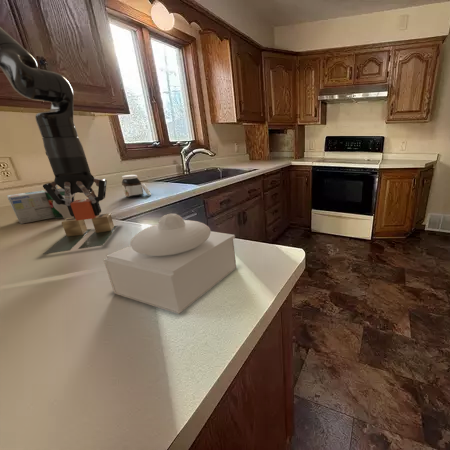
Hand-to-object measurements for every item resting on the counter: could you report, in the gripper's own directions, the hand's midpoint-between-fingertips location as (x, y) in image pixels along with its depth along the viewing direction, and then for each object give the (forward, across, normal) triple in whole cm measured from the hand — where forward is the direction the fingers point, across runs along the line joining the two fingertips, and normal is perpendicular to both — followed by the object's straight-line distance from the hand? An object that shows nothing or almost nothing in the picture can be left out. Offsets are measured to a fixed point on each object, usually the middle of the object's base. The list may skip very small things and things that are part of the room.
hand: (87, 215), depth 71 cm
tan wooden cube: (+8, +8, -11) cm, 16 cm away
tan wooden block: (+8, 0, -11) cm, 14 cm away
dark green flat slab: (+9, +4, -5) cm, 11 cm away
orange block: (0, 0, 0) cm, 0 cm away
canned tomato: (+9, +21, -43) cm, 48 cm away
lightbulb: (+9, +15, -28) cm, 33 cm away
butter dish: (+9, -24, +33) cm, 42 cm away
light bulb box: (+9, +30, -42) cm, 52 cm away
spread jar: (+9, -1, -71) cm, 72 cm away
